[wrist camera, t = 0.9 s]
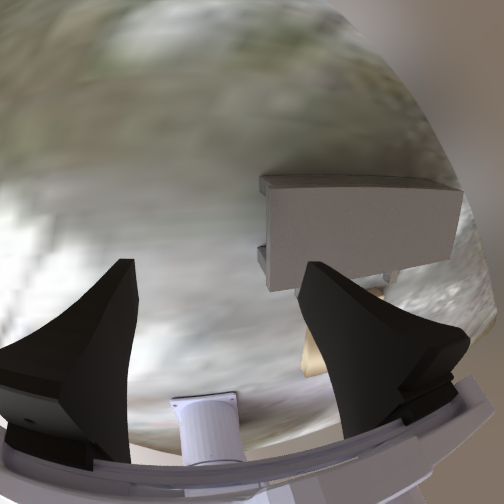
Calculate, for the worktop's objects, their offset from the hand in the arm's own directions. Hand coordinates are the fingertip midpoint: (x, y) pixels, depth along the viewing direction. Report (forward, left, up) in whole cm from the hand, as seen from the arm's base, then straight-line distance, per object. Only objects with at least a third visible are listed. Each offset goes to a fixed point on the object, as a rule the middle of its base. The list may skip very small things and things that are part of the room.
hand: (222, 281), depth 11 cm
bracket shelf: (-3, -13, -10) cm, 17 cm away
